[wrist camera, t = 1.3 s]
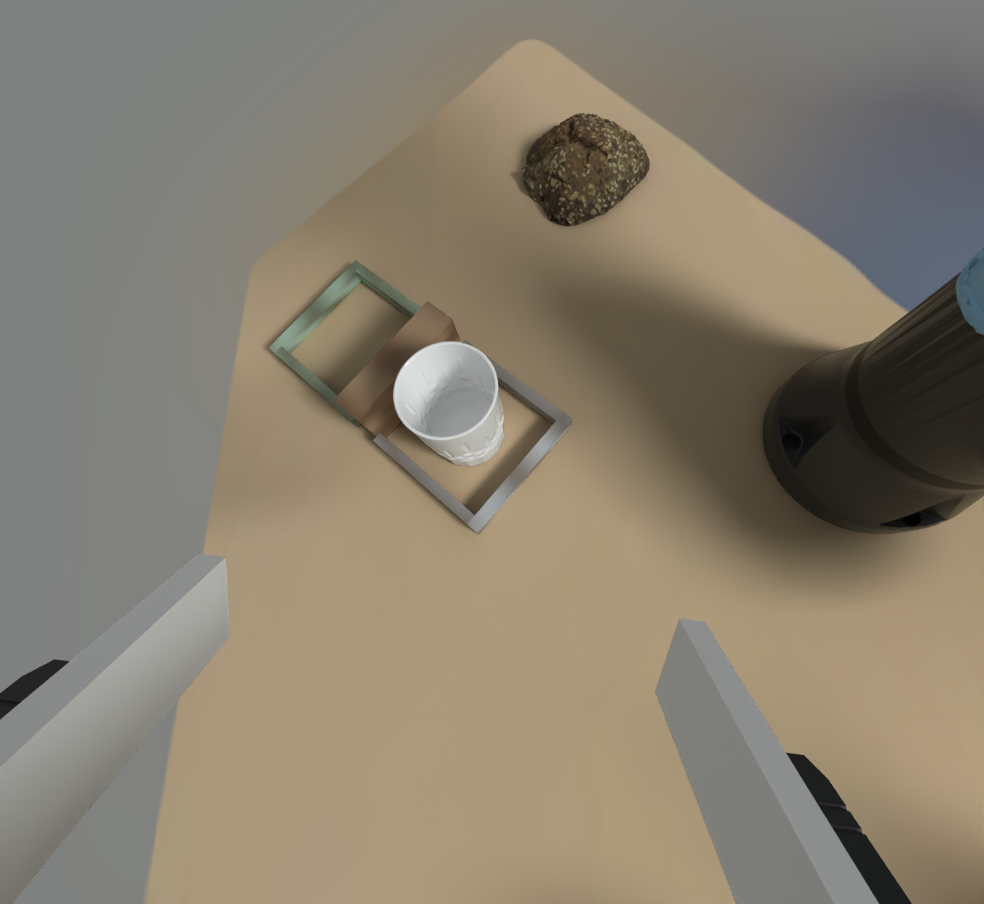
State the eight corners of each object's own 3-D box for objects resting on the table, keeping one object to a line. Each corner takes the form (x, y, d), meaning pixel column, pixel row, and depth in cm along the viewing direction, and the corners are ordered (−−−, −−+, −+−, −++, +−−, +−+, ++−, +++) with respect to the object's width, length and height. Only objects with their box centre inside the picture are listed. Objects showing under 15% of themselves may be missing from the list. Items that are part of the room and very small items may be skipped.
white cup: (427, 398, 45) (392, 347, 35) (507, 389, 44) (494, 334, 34) (429, 477, 42) (392, 445, 33) (514, 468, 41) (501, 433, 32)
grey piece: (361, 270, 50) (336, 229, 44) (571, 425, 42) (574, 399, 36) (277, 355, 48) (240, 324, 43) (478, 534, 40) (465, 525, 34)
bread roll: (663, 178, 49) (674, 134, 44) (570, 243, 48) (571, 205, 43) (587, 113, 52) (590, 67, 48) (500, 172, 52) (494, 130, 47)
